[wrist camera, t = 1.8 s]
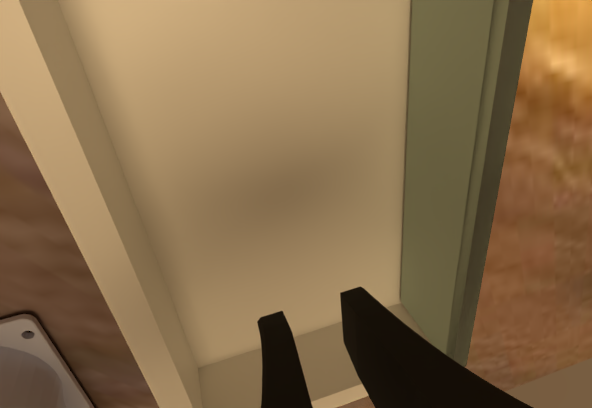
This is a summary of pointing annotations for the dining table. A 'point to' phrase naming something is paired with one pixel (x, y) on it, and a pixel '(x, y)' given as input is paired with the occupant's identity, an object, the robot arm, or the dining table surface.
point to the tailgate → (456, 156)
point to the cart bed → (222, 173)
